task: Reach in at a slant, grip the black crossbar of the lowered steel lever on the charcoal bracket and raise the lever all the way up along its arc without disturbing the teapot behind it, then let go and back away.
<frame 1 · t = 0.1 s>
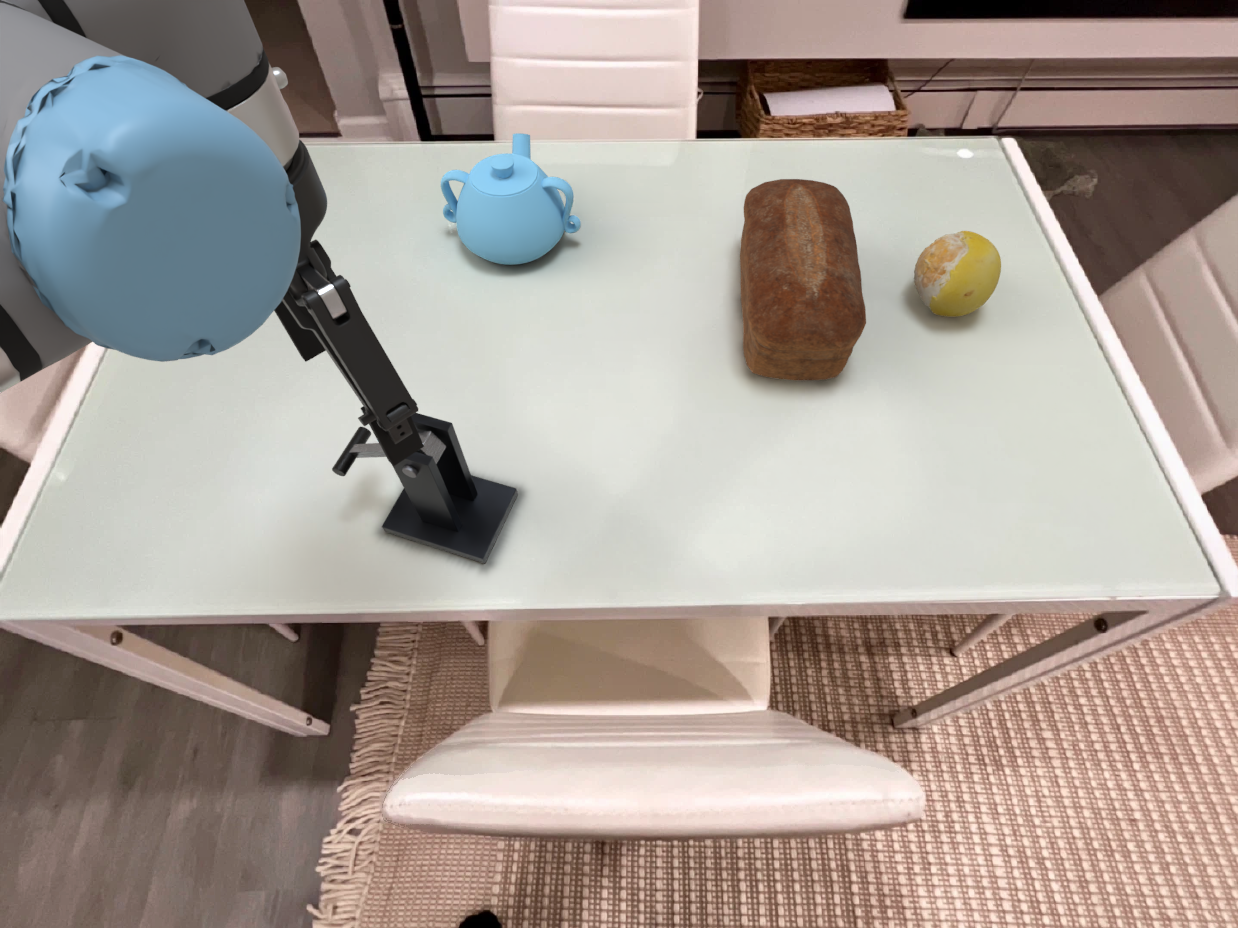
hand: (360, 400, 56), 24 cm above the table, tool pointing down, fingers open, 13 cm apart
bread: (786, 309, 94), on the table
fruit: (939, 303, 95), on the table
teapot: (518, 229, 103), on the table
lever: (388, 449, 70), point 11 cm above the table, hinge at -28.0°
bracket: (452, 512, 78), on the table
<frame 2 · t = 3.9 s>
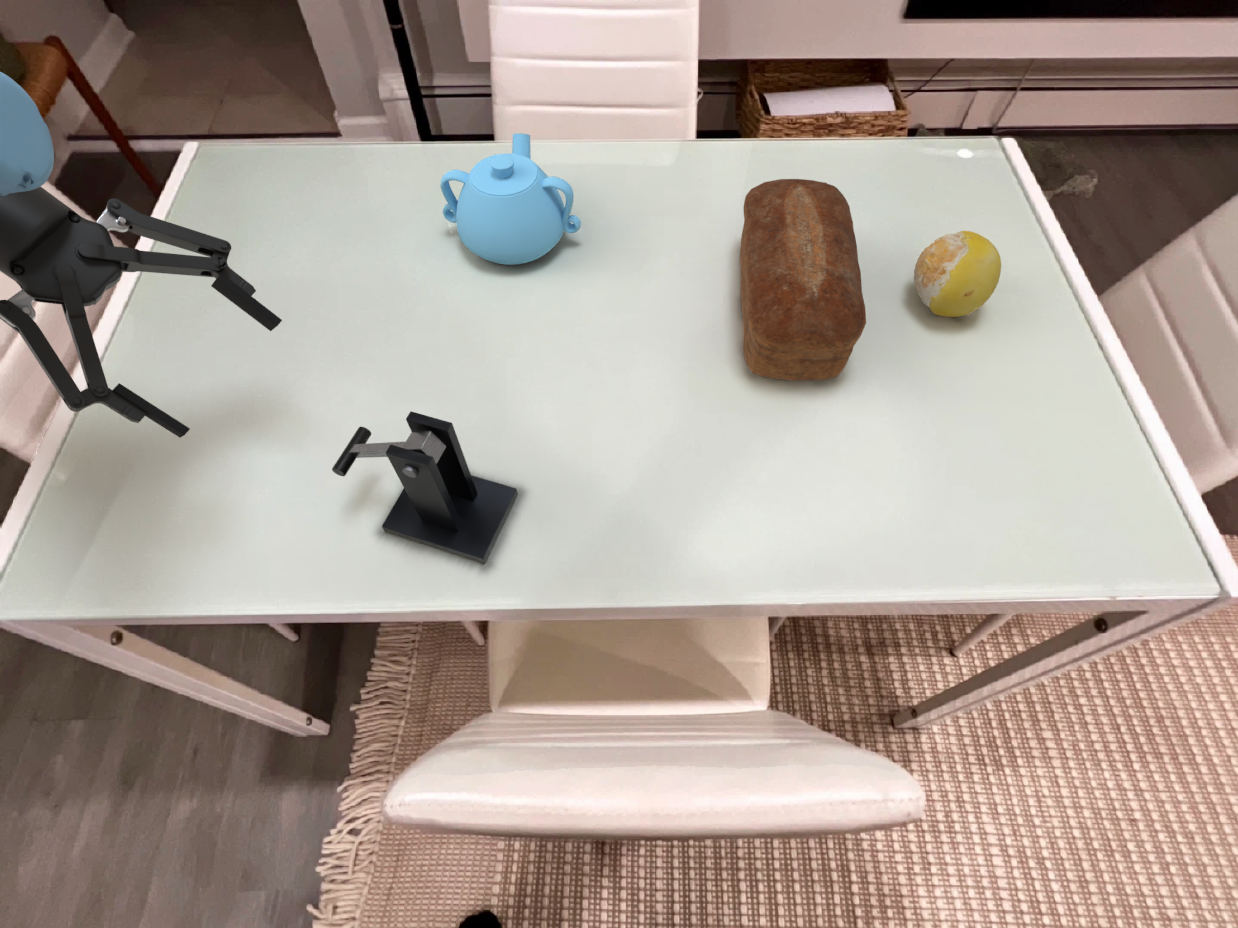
hand: (233, 377, 68), 16 cm above the table, tool tilted 45°, fingers open, 13 cm apart
nothing on the table moved.
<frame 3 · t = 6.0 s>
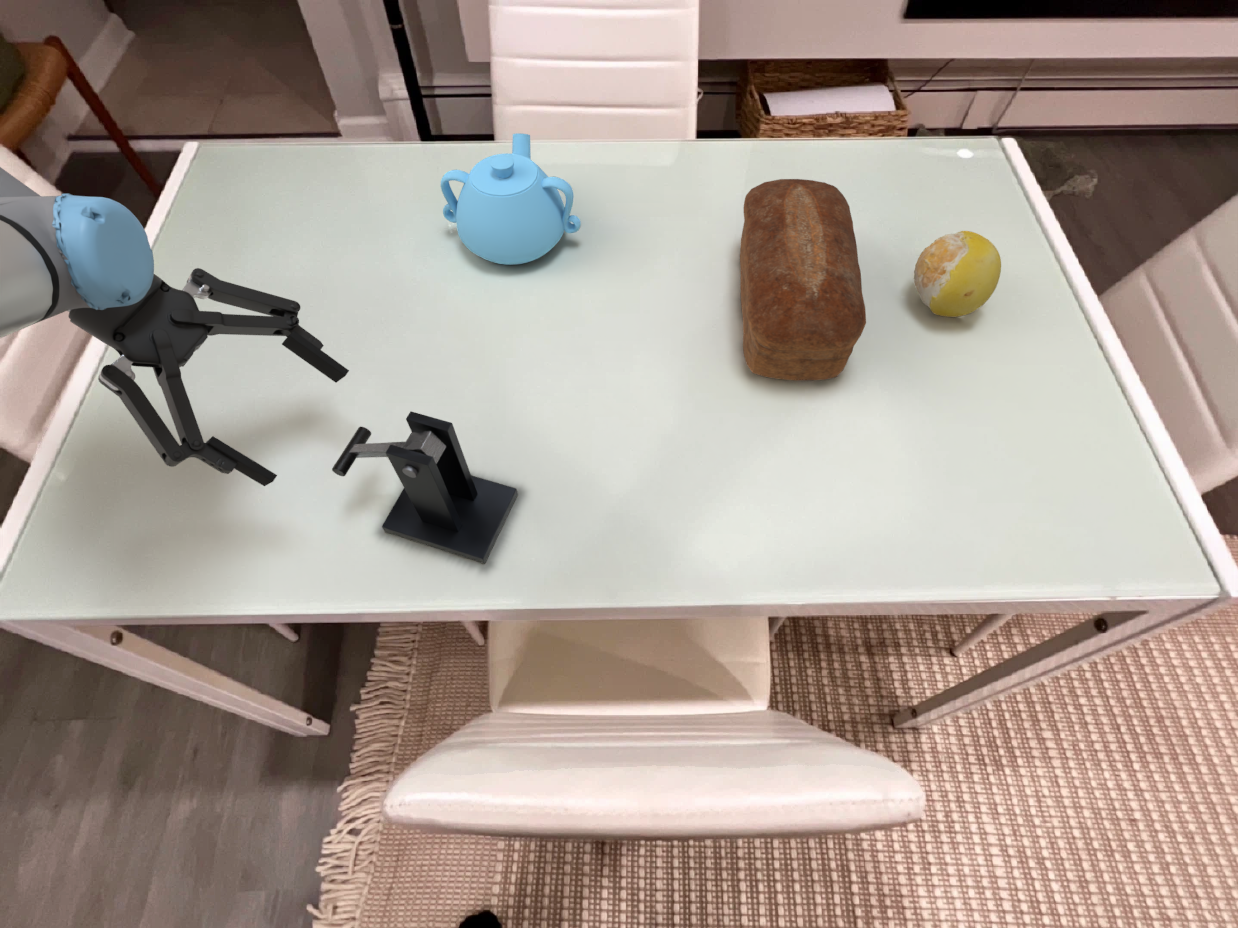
hand: (308, 426, 72), 10 cm above the table, tool tilted 45°, fingers open, 13 cm apart
nothing on the table moved.
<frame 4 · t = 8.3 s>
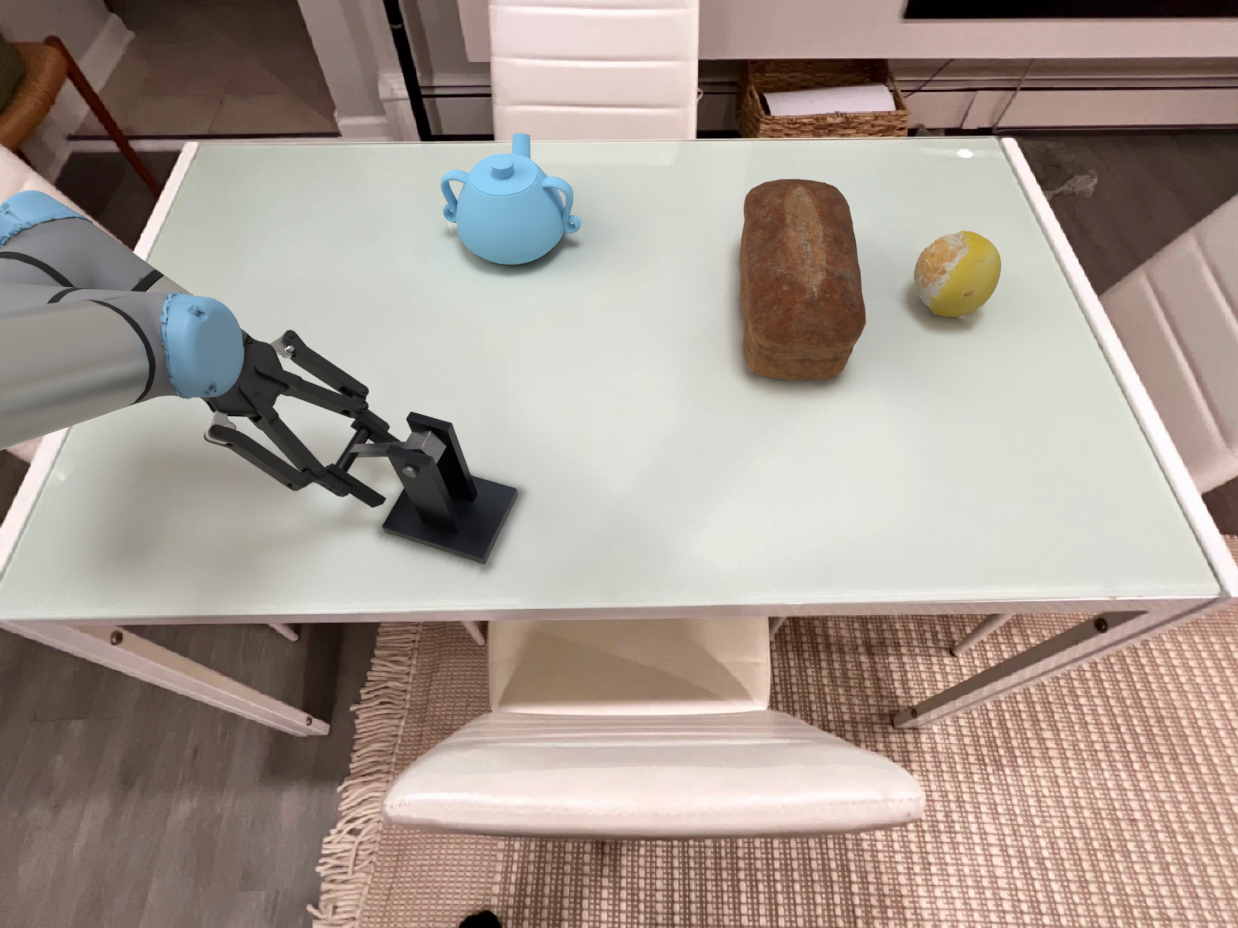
hand: (393, 478, 76), 4 cm above the table, tool tilted 45°, fingers closed on lever, 5 cm apart
lever: (388, 449, 70), point 11 cm above the table, hinge at -28.0°, touching gripper
everything else where it was.
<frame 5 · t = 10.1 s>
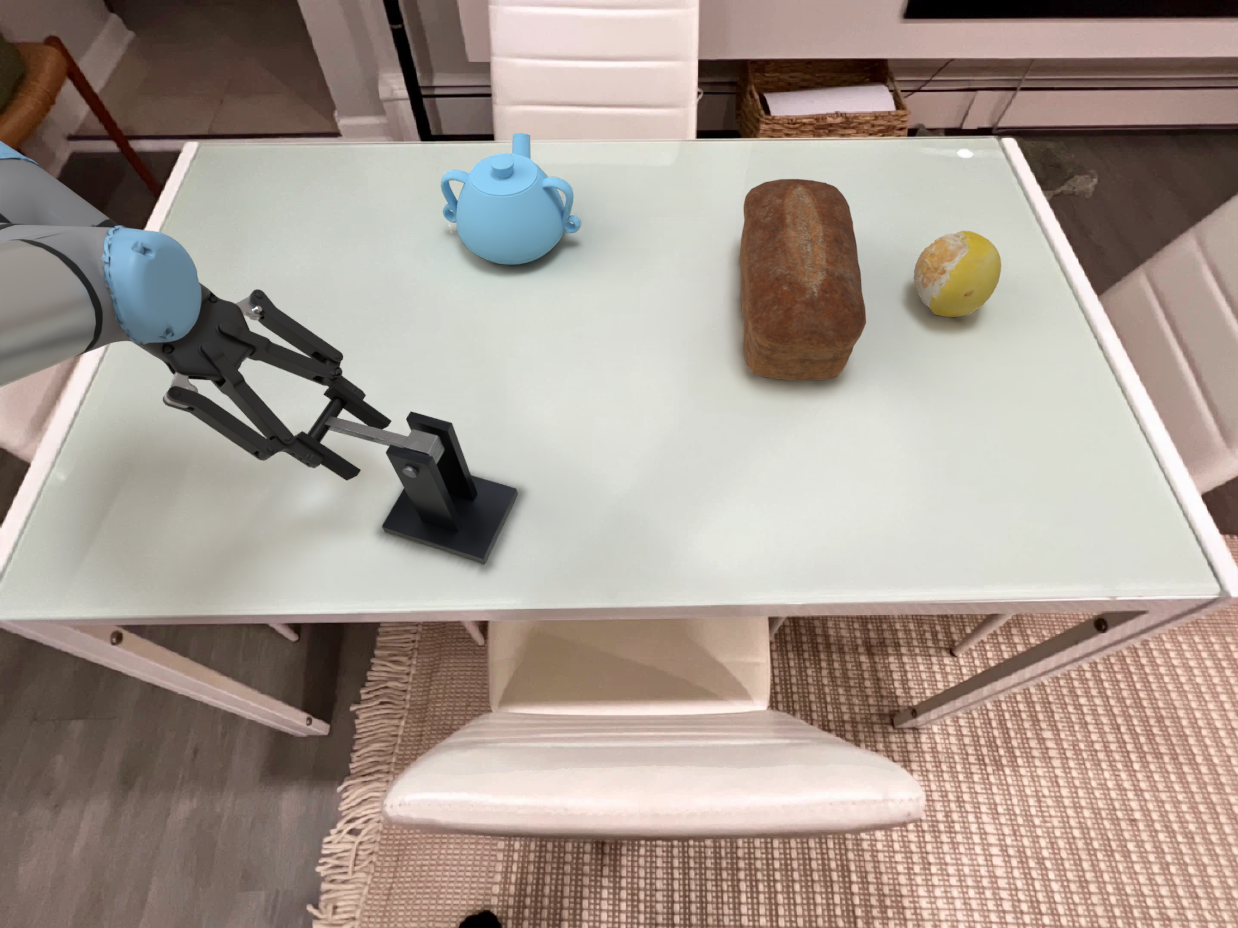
hand: (369, 450, 72), 9 cm above the table, tool tilted 45°, fingers closed on lever, 5 cm apart
lever: (376, 435, 68), point 13 cm above the table, hinge at -2.5°, touching gripper
everything else where it was.
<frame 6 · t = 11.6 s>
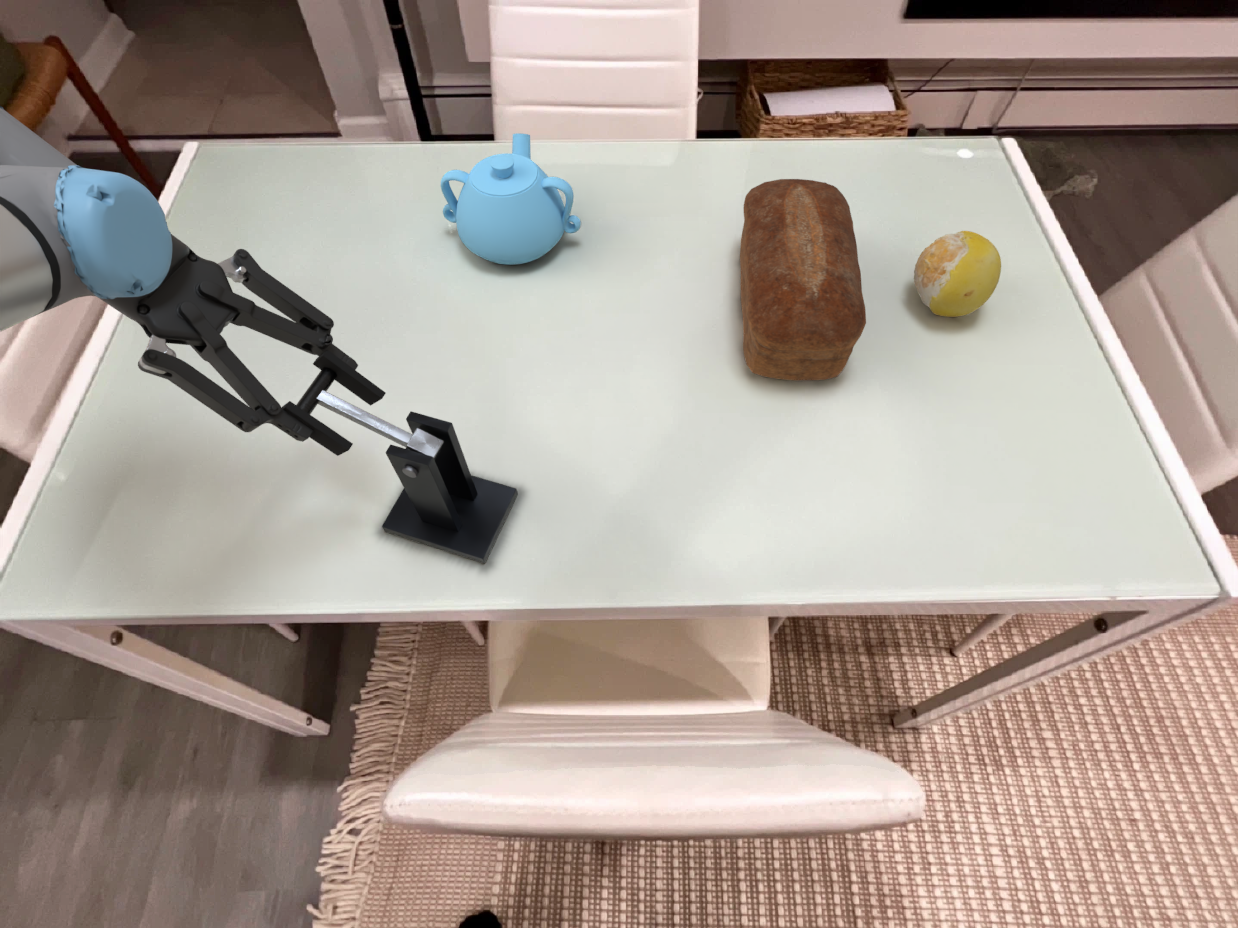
hand: (361, 423, 67), 14 cm above the table, tool tilted 45°, fingers closed on lever, 5 cm apart
lever: (373, 423, 66), point 15 cm above the table, hinge at 23.0°, touching gripper
everything else where it was.
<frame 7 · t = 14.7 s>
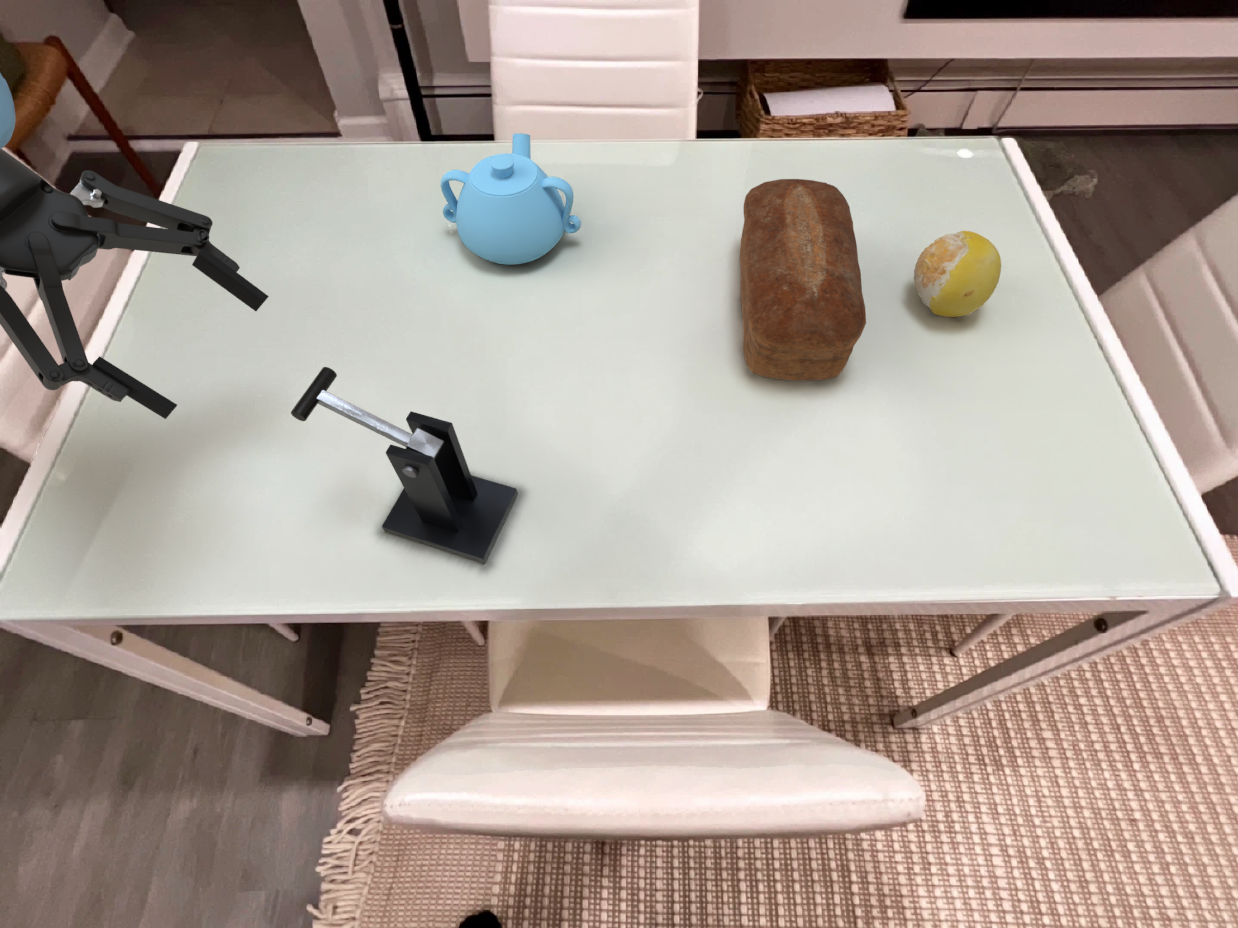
hand: (219, 355, 64), 20 cm above the table, tool tilted 45°, fingers open, 13 cm apart
lever: (373, 422, 66), point 15 cm above the table, hinge at 23.4°
everything else where it was.
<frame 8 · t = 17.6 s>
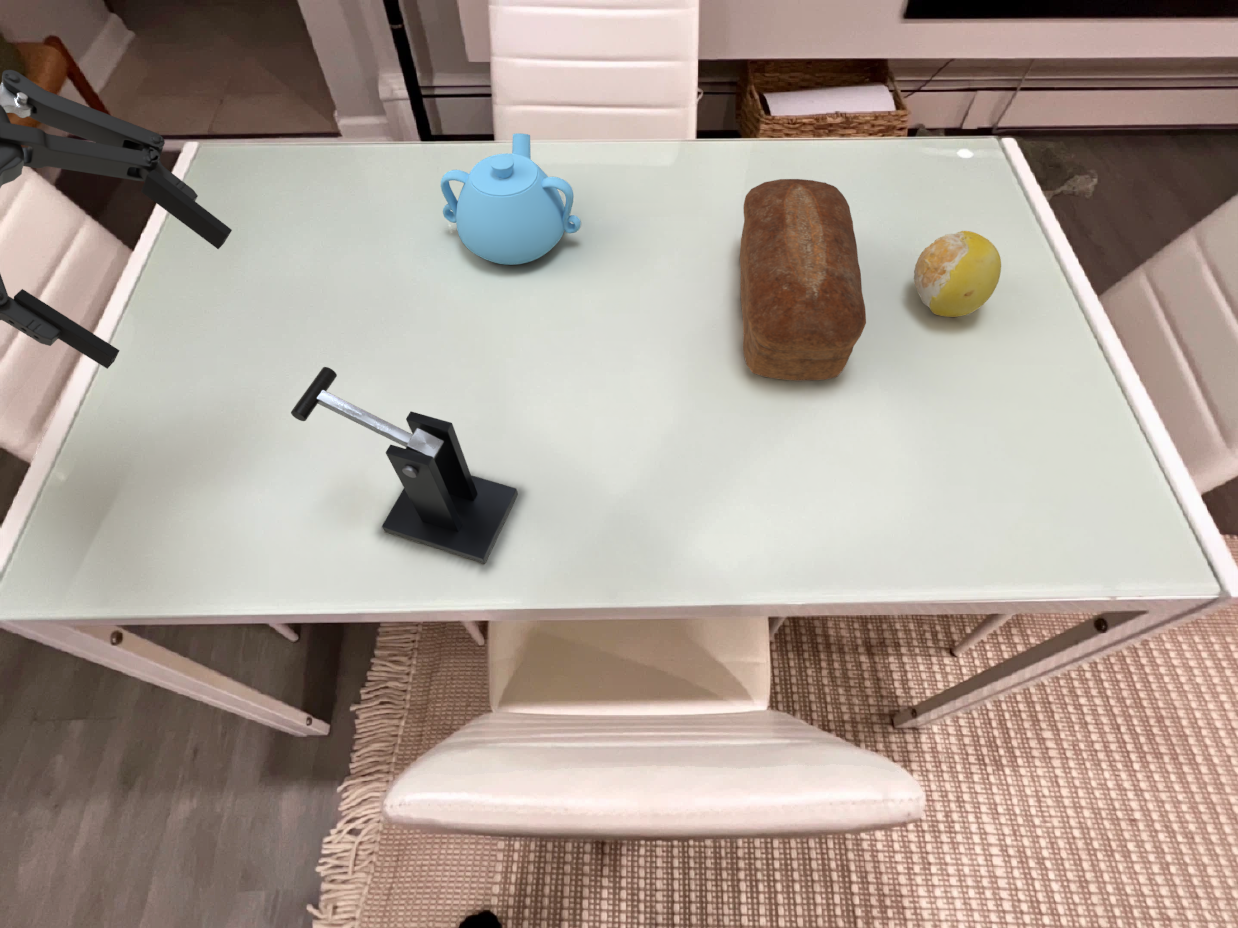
hand: (173, 296, 55), 30 cm above the table, tool tilted 45°, fingers open, 13 cm apart
nothing on the table moved.
at the end: lever at +23° (first picture: -28°); the gripper is holding nothing; teapot moved 0.2 cm from its start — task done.
